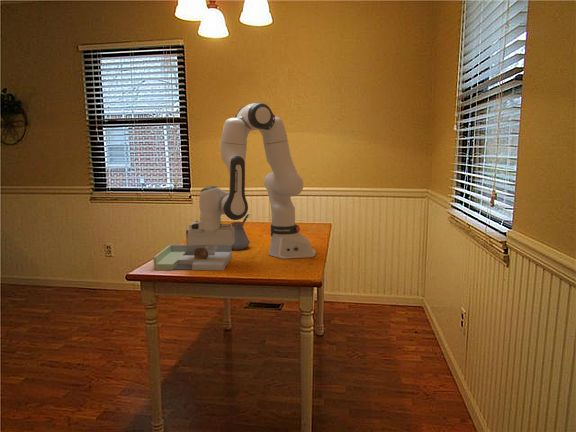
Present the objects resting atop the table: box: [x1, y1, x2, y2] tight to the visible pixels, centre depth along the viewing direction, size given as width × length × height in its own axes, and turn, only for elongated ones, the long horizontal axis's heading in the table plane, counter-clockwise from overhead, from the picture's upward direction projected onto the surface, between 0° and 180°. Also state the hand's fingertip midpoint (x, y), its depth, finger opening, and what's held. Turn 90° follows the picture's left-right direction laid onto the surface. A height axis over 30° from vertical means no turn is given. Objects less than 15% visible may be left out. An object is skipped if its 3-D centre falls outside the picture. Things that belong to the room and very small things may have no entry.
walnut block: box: [194, 247, 208, 259], centre depth 175 cm, size 5×5×4 cm
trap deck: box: [152, 244, 233, 271], centre depth 175 cm, size 29×21×6 cm
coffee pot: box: [230, 213, 250, 251], centre depth 204 cm, size 21×12×15 cm, turn 164°
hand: (211, 255), depth 174 cm, fingers closed
